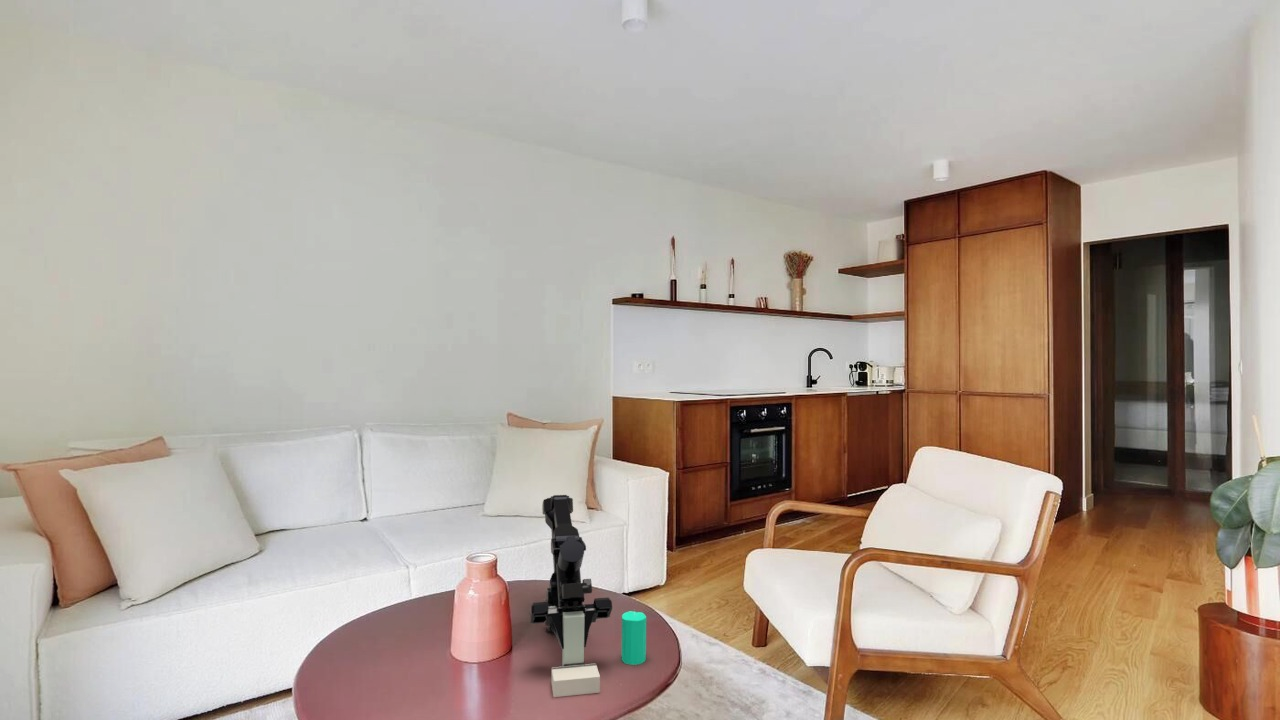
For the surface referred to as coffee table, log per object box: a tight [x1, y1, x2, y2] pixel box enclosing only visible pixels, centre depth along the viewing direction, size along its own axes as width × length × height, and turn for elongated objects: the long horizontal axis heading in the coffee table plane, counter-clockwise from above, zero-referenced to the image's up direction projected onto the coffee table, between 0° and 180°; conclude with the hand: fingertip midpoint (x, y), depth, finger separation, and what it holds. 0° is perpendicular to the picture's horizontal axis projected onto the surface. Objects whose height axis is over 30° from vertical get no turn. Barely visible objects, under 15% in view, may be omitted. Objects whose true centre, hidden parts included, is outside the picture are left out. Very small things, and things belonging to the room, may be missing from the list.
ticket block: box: [550, 663, 601, 698], centre depth 143 cm, size 6×10×4 cm, turn 102°
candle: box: [621, 609, 647, 666], centre depth 156 cm, size 6×6×12 cm
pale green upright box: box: [561, 611, 585, 667], centre depth 148 cm, size 3×5×14 cm, turn 103°
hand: (573, 647), depth 146 cm, fingers closed on pale green upright box, 5 cm apart
